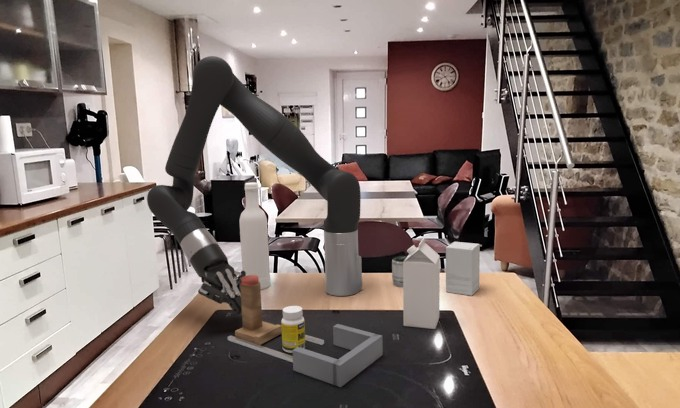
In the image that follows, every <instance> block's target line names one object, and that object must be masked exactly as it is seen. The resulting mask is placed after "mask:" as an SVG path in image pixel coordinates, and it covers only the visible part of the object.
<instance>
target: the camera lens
mask: <svg viewBox="0 0 680 408" xmlns="http://www.w3.org/2000/svg"><path fill="white" fill-rule="evenodd" d="M407 256H408V255H398V256H395V257H393V258H392V260H391V270H392V271H391V276H392V284H393V286H395V287H399V288H403V262H404V260H405V259H406V258H407Z"/></svg>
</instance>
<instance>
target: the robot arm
mask: <svg viewBox="0 0 680 408" xmlns="http://www.w3.org/2000/svg"><path fill="white" fill-rule="evenodd" d="M191 85H192V86H191V91H190V96H189V102H188V103H187V108H186V111H185V114H184V117H183V120H182V122H181V125H180V127H179V129H178V131H177V134H176V136H175V138H174V141H173V143H172V146H171V149H170V150H169V151H170V152H169V155H168V158H167V160H166V164H165V168H164V169H165V173H166V174H167V175H169V176H171V177H172V185H165V184H158V185H154V186H153V187H151V188H150V189H149V191H148V193H147V196H146V201H147V206H148V208H149V210H150V212H151V213H152V214H153V216H154V217H155V218H156V219H158V221H159V222H160V223H162V225H163V226H164V227H165V228H166V229H168V230H170V232H171V233H172V234H173V236H174V238H175V239H176V240H177V242H178V244H179V246H180V247H181V249H182V251H183V253H184V256H185V258H187V260H188V262H189V263H190V265H191V267H192V268H193V270H194V271H195V273H196V275H197V276H198V277H199V278H201V282H202V284H201V286H200V287H199V289H198V290H197V293H198V294H199V295H201V296H203V297H205V298H208V299H209V300H211V301H213V302H215V303H217V304H219V305H222V304H223V303H224V304H225V303H226V304H227V305H228V306H229V307H230V309H231V310H232V312H233V313H234V314H235V315H236V316H238V317H240V316H241V317H242V306H241V289H240V284H241V283H242V280H241V278H242V277H244V276H246V272H245V271H242V270H241V271H238V270H235V269H234V267H233V266H231V264H229V260H228V257H227V256H226V254H225V253H224V251H223V249H222V248H221V246H220V245H219V244H218V242H217V240H216V238H215V237H214V236H213V235H212V234H211V232H210V231H208V229H207V227H206V226H205V225H204V223H203V221H202V220H201V218H200V217H199V215H197V214H196V213H194V212H192V211H189V208H190V207H191V205H192V202H193V198H194V190H195V189H194V187H195V175H196V172H197V170H198V168H199V164H200V161H201V158H202V155H203V153H204V149H205V146H206V143H207V140H208V136H209V134H210V133H209V132H210V129H211V126H212V125H213V124H212V123H213V122H214V118H215V116H216V114H217V112H218V109H219V107H223V108H224V109H225V110H227V111H228V112H229V113H231V114H232V115H233V117H235V118H236V119H237V120H238V121H239V122H240V123H241V125H242V126H243V127H244V128H245V129H246V130H247V131H248V132H249V133H250V135H252V137H253V138H254V139H255V140H257V141H258V142H259V143H260V144H261V145H262V146H263V147H264V148H265V149H266V150H268V151H269V152H270V153H271V154H272V155H274V156H275V157H276V158H277V159H278V160H280V161H281V162H283V163H284V164H285V165H287V166H288V167H290V168H291V169H293V171H295V172H297V174H299V175H301V176H302V177H303V178H304V179H305V180H306V181H307V182H308V183H309V184H310V185H311V186H312V187H313V188H314V190H315V191H317V193H319V195H320V196H321V197H322V198H323V199H324V200H325V201H326V202H327V203H326V204H327V207H326V209H327V210H326V211H327V213H326V218H325V219H324V220H323V242H324V245H323V246H324V271H325V272H324V273H325V276H324V277H325V292H326V293H327V294H328V295H331V296H337V297H345V296H347V297H348V296H352V295H356V294H357V293H359V292H360V291H362V290H363V275H362V274H363V272H362V263H363V262H362V256H361V255H359V230H358V229H359V222H360V218H361V197H362V196H361V195H362V194H361V186H360V182H359V179H358V178H357V176H355V175H354V174H353V173H351V172H349V171H346V170H345V171H344V170H340V169H338V168H337V167H335V166H334V165H332V164H331V163H330V162H329V161H327V160H326V159H325V158H323V156H321V155H320V154H319V153H318V152H317V151H316V150H315V148H314V146H313V145H312V144H311V142H310V141H309V139H308V138H307V137H306V136H305V134H304V132H302V131H301V130H300V129H299V128H298V127H297V125H296V124H294V123H293V122H292V120H290V119H289V118H287V117H286V116H285V115H284V114H283V113H282V112H280V111H279V110H278V109H276V108H275V107H273V106H272V105H271V104H269V103H267V102H266V101H265V100H264V99H262V98H260V97H258V96H257V95H256V94H255V93H253V92H252V91H251V90H250V89H249V88H248V87H247V86H246V85H245V84H244V83H243V82H242V81H241V80H240V79H239V78H238V77H237V76H236V75H235V74H234V72H233V69H232V67H231V66H230V64H229V62H227V61H226V60H225V59H224V58H222V57H219V56H214V55H212V56H211V55H210V56H206V57H202V59H200V60H198V61H197V63H196V64H195V66H194V68H193V71H192V84H191Z"/></svg>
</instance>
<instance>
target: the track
mask: <svg viewBox="0 0 680 408" xmlns="http://www.w3.org/2000/svg"><path fill="white" fill-rule="evenodd" d="M227 341H229V342H231V343H234V344H237V345H240V346H243V347H247V348H249V349H251V350H254V351H258V352H260V353H264V354H266V355H269V356H272V357H275V358H278V359H281V360H284V361H286V362H290V363H292V364H293V355H290V354H287V353H286V352H285V353H284V352H282V351H278V350H275V349H272V348H269V347H266V346H263V345H262V344H261V345H258V344H255V343H252V342H249V341H246V340H243V339H240V338H237V337H235V335H234V336H233V335H229V336H227ZM305 341H308V342H310V343H314V344H316V345H321V346H323V345H324V344H325V339H322V338H318V337H314V336H312V335H307V334H305Z"/></svg>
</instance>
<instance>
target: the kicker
mask: <svg viewBox="0 0 680 408" xmlns="http://www.w3.org/2000/svg"><path fill="white" fill-rule="evenodd" d="M241 280H242V283H241V284H240V289H241V306H242V315H241V319H242V320H241V321H242V322H241V323H242V327H239V328H238V329H236V330H235V331H234V337H237V338H240V339H243V340H246V341H249V342H252V343H255V344H258V345H261V346H262V345H263V344H265V343H267V342H269V341H271V340H272V339H274V338H276V337H278V336H279V335H282V326H281V324H279V323H277V324H274V323H270V322H268V321H267V322H266V321H265V320H264V321H263V313H262V312H263V311H262V293H261V292H262V291H261V289H260V282H259V279H258V276H256V275H248V276H244V277H242V278H241Z"/></svg>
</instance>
